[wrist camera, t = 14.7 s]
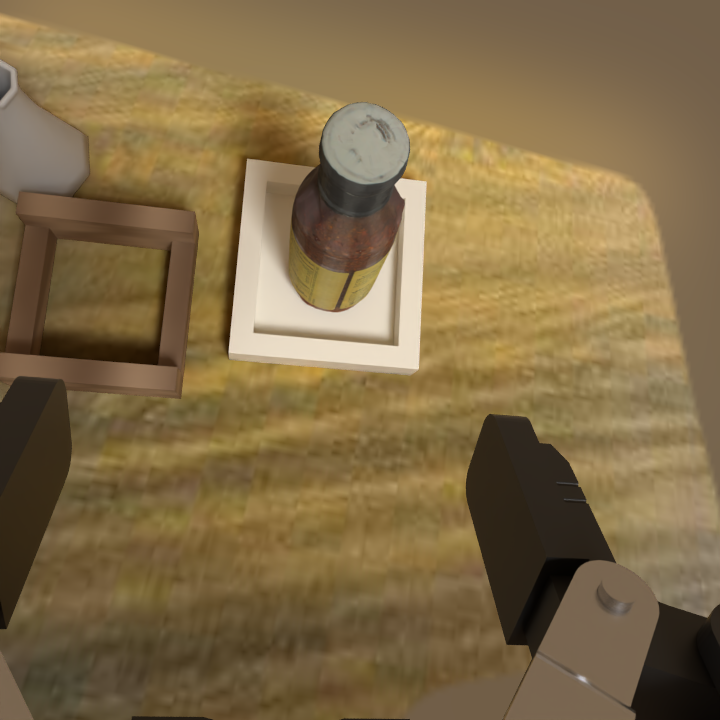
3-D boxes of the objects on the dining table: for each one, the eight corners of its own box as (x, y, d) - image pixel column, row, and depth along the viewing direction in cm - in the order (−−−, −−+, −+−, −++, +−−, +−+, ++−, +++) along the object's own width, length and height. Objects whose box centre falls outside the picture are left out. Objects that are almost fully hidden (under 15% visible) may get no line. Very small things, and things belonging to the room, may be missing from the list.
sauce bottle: (368, 233, 51) (442, 77, 31) (375, 315, 50) (455, 205, 30) (279, 234, 50) (299, 73, 30) (284, 318, 49) (308, 206, 29)
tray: (229, 359, 48) (228, 352, 46) (247, 174, 51) (247, 158, 48) (410, 375, 50) (418, 369, 47) (418, 195, 53) (426, 181, 50)
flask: (2, 102, 49) (-58, 7, 39) (105, 130, 50) (71, 44, 40) (-31, 194, 47) (-103, 118, 38) (75, 221, 48) (32, 154, 38)
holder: (10, 385, 45) (-12, 376, 41) (37, 215, 48) (19, 191, 44) (180, 398, 47) (175, 390, 43) (199, 233, 49) (194, 211, 45)
